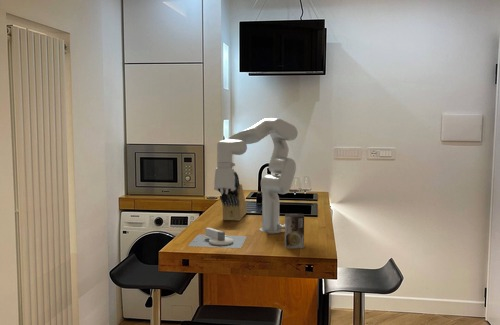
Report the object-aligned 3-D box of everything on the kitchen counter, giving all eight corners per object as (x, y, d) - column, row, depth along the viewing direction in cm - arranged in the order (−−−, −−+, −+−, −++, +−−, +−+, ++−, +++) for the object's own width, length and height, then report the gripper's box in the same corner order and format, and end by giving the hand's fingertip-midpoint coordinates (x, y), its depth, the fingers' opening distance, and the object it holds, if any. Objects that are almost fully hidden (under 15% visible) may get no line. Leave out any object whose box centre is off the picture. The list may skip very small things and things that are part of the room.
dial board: (246, 239, 265) (246, 235, 265) (240, 251, 242) (240, 247, 241) (198, 237, 268) (198, 234, 268) (187, 249, 244) (187, 245, 244)
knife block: (218, 223, 301) (218, 172, 298) (230, 212, 336) (230, 166, 333) (237, 224, 300) (237, 172, 297) (247, 213, 334) (247, 166, 331)
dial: (238, 242, 251) (238, 232, 250) (218, 246, 243) (218, 236, 243) (216, 235, 265) (216, 226, 264) (197, 239, 257) (197, 229, 256)
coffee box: (302, 245, 254) (303, 213, 252) (304, 248, 248) (304, 216, 246) (284, 245, 254) (284, 213, 252) (285, 248, 247) (286, 215, 246)
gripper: (240, 165, 257) (240, 200, 259) (211, 164, 259) (211, 200, 260) (238, 166, 250) (238, 203, 251) (208, 166, 251) (208, 202, 253)
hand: (224, 201), depth 256 cm, fingers closed
